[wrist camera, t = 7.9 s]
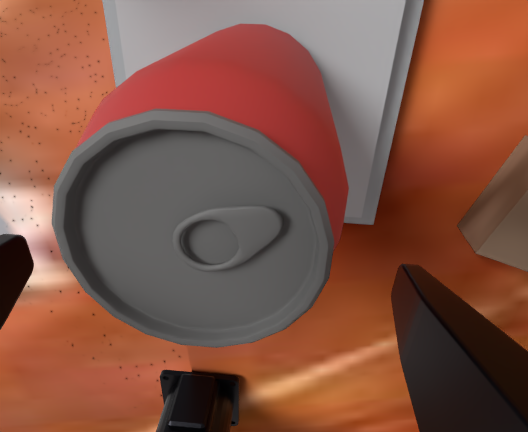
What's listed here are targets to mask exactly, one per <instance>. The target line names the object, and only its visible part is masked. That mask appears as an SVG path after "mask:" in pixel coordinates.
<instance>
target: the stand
mask: <svg viewBox="0 0 528 432" xmlns="http://www.w3.org/2000/svg"><path fill="white" fill-rule="evenodd" d="M102 1H103V7H104V14H105V20H106V26H107V33H108V39H109V46H110V52H111V58H112V65H113V71H114V77H115V84H116V88H117V87H118V86H119V85H121V84H122V83H123V82H124V81H125V80H127V79H128V78H129V77H130V76H131V75H133V74H134V73H135V72H136V71H138V70H140V69H142V68H144V67H146V66H148V65H150V64H152V63H154V62H156V61H158V60H160V59H162V58H164V57H166V56H168V55H170V54H172V53H174V52H176V51H178V50H180V49H182V48H184V47H186V46H188V45H190V44H192V43H194V42H196V41H198V40H200V39H202V38H204V37H206V36H208V35H210V34H212V33H214V32H216V31H219V30H222V29H225V28H228V27H231V26H234V25H237V24H240V23H241V24H266V25H268V26H271V27H273V28H276V29H278V30H281V31H283V32H286V33H288V34H290V35H291V36H292V37H293V38H294V39H295V40H297V41H298V42H299V43H300V44H301V45H302V46H303V47H305V48H306V49H307V50H308V51H309V53H310V55H311V56H312V58H313V60H314V62H315V63H316V65H317V67H318V68H319V70H320V72H321V75H322V79H323V83H324V87H325V90H326V94H327V98H328V102H329V105H330V109H331V113H332V117H333V121H334V124H335V128H336V132H337V136H338V140H339V143H340V147H341V152H342V157H343V162H344V167H345V171H346V176H347V181H348V186H349V191H348V197H347V204H346V210H345V216H344V223H354V224H368V225H373V224H374V219H375V215H376V211H377V206H378V202H379V197H380V193H381V188H382V184H383V180H384V175H385V171H386V166H387V162H388V157H389V153H390V149H391V144H392V140H393V135H394V131H395V126H396V122H397V118H398V113H399V109H400V104H401V100H402V95H403V91H404V87H405V82H406V78H407V73H408V69H409V64H410V60H411V56H412V51H413V47H414V42H415V38H416V33H417V29H418V25H419V20H420V16H421V11H422V7H423V2H424V0H102Z"/></svg>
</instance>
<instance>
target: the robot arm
mask: <svg viewBox="0 0 528 432" xmlns="http://www.w3.org/2000/svg"><path fill="white" fill-rule="evenodd" d="M33 267H34V262H33V259H32V256H31V253H30V250H29V247H28V244H27V241H26V239H25V238H24V237H23V236H21V235H14V234H3V235H0V330H1V328H2V326H3V325H4V323H5V321H6V320H7V318H8V316H9V314H10V312H11V311H12V309H13V307H14V305H15V303H16V301H17V299H18V298H19V296H20V294H21V292H22V290H23V288H24V287H25V285H26V283H27V281H28V279H29V277H30V275H31V274H32V271H33ZM391 301H392V308H393V315H394V321H395V328H396V335H397V342H398V349H399V355H400V360H401V364H402V368H403V372H404V376H405V380H406V383H407V387H408V391H409V394H410V398H411V402H412V405H413V409H414V413H415V417H416V420H417V424H418V428H419V431H420V432H528V351H527V350H526V349H524V348H523V347H522V346H520V345H519V344H518V343H517V342H515V341H514V340H513V339H512V338H510V337H509V336H508V335H507V334H505V333H504V332H503V331H502V330H500V329H499V328H498V327H496V326H495V325H494V324H493V323H491V322H490V321H489V320H488V319H486V318H485V317H484V316H483V315H481V314H480V313H479V312H477V311H476V310H475V309H474V308H472V307H471V306H470V305H469V304H467V303H466V302H465V301H464V300H462V299H461V298H460V297H459V296H457V295H456V294H455V293H453V292H452V291H451V290H450V289H448V288H447V287H446V286H445V285H443V284H442V283H441V282H440V281H438V280H437V279H436V278H435V277H433V276H432V275H431V274H429V273H428V272H427V271H426V270H424V269H423V268H422V267H420V266H419V265H412V264H401V265H400V266H399V268H398V271H397V274H396V278H395V281H394V285H393V288H392V293H391ZM160 381H161V387H162V394H163V400H164V408H163V411H162V414H161V418H160V421H159V424H158V427H157V430H156V432H230V426H236V425H238V422H239V378H238V377H236V376H229V375H218V374H207V373H195V372H184V371H173V370H163V371H162V372H161V375H160Z"/></svg>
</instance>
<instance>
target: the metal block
mask: <svg viewBox="0 0 528 432" xmlns="http://www.w3.org/2000/svg"><path fill="white" fill-rule="evenodd" d="M457 226H458V228H459V229H460V231H461V232H462V234H463V235H464V237H465V238H466V240H467V241H468V243H469V244H470V246H471V247H472V249H473V250H474V252H475V253H476V254H479V255H482V256H485V257H487V258H490V259H493V260H496V261H499V262H502V263H504V264H507V265H510V266H513V267H516V268H519V269H521V270H524V271H527V272H528V136H526V135H525V136H524V137H523V139H522V140H521V141H520V143H519V144H518V145H517V147H516V148H515V149H514V151H513V152H512V153H511V155H510V156H509V157H508V159H507V160H506V161H505V163H504V164H503V165H502V167H501V168H500V169H499V171H498V172H497V173H496V175H495V176H494V177H493V179H492V180H491V181H490V183H489V184H488V185H487V187H486V188H485V189H484V191H483V192H482V193H481V195H480V196H479V197H478V199H477V200H476V201H475V203H474V204H473V205H472V207H471V208H470V209H469V211H468V212H467V213H466V214H465V216H464V217H463V218H462V220H461V221H460V222H459V224H458V225H457Z"/></svg>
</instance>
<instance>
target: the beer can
mask: <svg viewBox="0 0 528 432" xmlns="http://www.w3.org/2000/svg"><path fill="white" fill-rule="evenodd" d="M348 191H349V186H348V181H347V176H346V171H345V167H344V162H343V157H342V152H341V147H340V143H339V140H338V136H337V132H336V128H335V124H334V121H333V117H332V113H331V109H330V105H329V102H328V98H327V94H326V90H325V87H324V83H323V79H322V75H321V72H320V70H319V68H318V67H317V65H316V63H315V62H314V60H313V58H312V56H311V55H310V53H309V51H308V50H307V49H306V48H305V47H303V46H302V45H301V44H300V43H299V42H298V41H297V40H295V39H294V38H293V37H292V36H291V35H290V34H288V33H286V32H283V31H281V30H278V29H276V28H273V27H271V26H268V25H266V24H241V23H240V24H237V25H234V26H231V27H228V28H225V29H222V30H219V31H216V32H214V33H212V34H210V35H208V36H206V37H204V38H202V39H200V40H198V41H196V42H194V43H192V44H190V45H188V46H186V47H184V48H182V49H180V50H178V51H176V52H174V53H172V54H170V55H168V56H166V57H164V58H162V59H160V60H158V61H156V62H154V63H152V64H150V65H148V66H146V67H144V68H142V69H140V70H138V71H136V72H135V73H134V74H133V75H131V76H130V77H129V78H128V79H127V80H125V81H124V82H123V83H122V84H121V85H119V86H118V87H117V88H116V89H115V90H113V91H112V92H111V93H110V94H109V95H107V96H106V97H105V98H104V99H103V100H102V101H101V103H100V105H99V106H98V108H97V109H96V111H95V112H94V114H93V116H92V118H91V120H90V122H89V123H88V125H87V127H86V129H85V131H84V133H83V135H82V137H81V139H80V141H79V143H78V145H77V146H76V148H75V149H74V150H73V151H72V153H71V154H70V156H69V158H68V160H67V162H66V164H65V166H64V168H63V170H62V172H61V174H60V176H59V178H58V180H57V181H56V183H55V185H54V196H53V212H52V226H53V229H54V232H55V235H56V238H57V242H58V245H59V248H60V251H61V255H62V258H63V260H64V261H65V263H66V264H67V266H68V267H69V269H70V270H71V272H72V273H73V274H74V276H75V277H76V279H77V280H78V282H79V283H80V285H81V286H82V288H83V289H84V291H85V292H86V293H87V294H89V295H90V296H91V297H92V298H93V299H94V300H95V301H96V302H98V303H99V304H100V305H101V306H102V307H103V308H104V309H106V310H107V311H108V312H109V313H110V314H111V315H112V316H114V317H115V318H117V319H119V320H121V321H123V322H125V323H126V324H128V325H130V326H132V327H134V328H136V329H138V330H139V331H141V332H143V333H145V334H147V335H151V336H154V337H157V338H161V339H164V340H167V341H171V342H174V343H177V344H181V345H191V346H204V347H216V348H217V347H224V346H231V345H239V344H246V343H252V342H255V341H258V340H260V339H262V338H265V337H267V336H270V335H272V334H275V333H277V332H279V331H282V330H284V329H286V328H287V327H289V326H290V325H291V324H292V323H293V322H295V321H296V320H297V319H298V318H299V317H301V316H302V315H303V314H304V313H305V312H307V311H308V310H309V309H310V308H312V306H313V304H314V303H315V301H316V299H317V298H318V296H319V294H320V293H321V291H322V289H323V287H324V286H325V284H326V282H327V281H328V279H329V275H330V269H331V262H332V255H333V251H334V250H335V248H336V246H337V244H338V242H339V241H340V237H341V232H342V228H343V223H344V216H345V210H346V204H347V197H348Z"/></svg>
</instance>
